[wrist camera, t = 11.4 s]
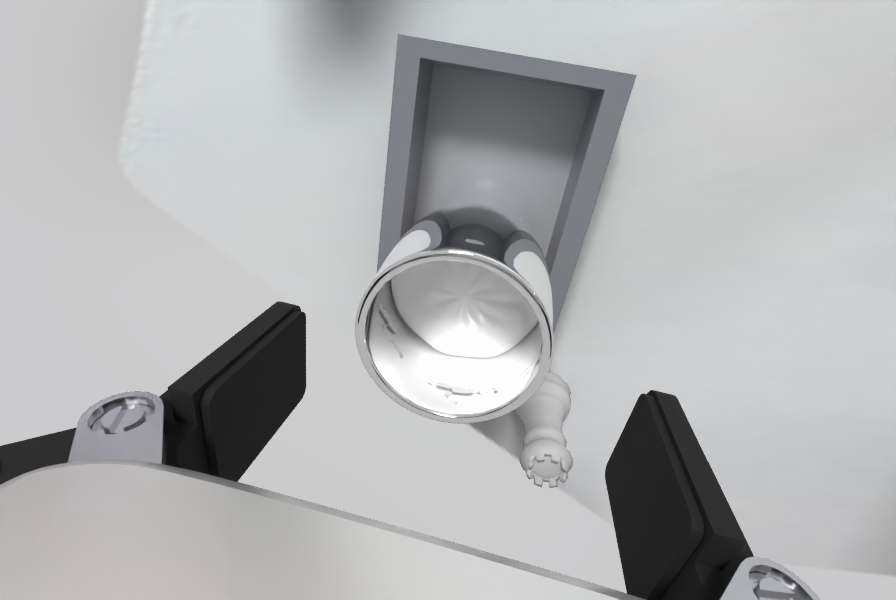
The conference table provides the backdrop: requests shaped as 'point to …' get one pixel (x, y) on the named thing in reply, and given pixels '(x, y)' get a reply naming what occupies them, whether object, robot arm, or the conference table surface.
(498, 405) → the beer glass
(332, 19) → the conference table surface
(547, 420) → the rook chess piece
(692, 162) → the conference table surface
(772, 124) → the conference table surface
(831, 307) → the conference table surface
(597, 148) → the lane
